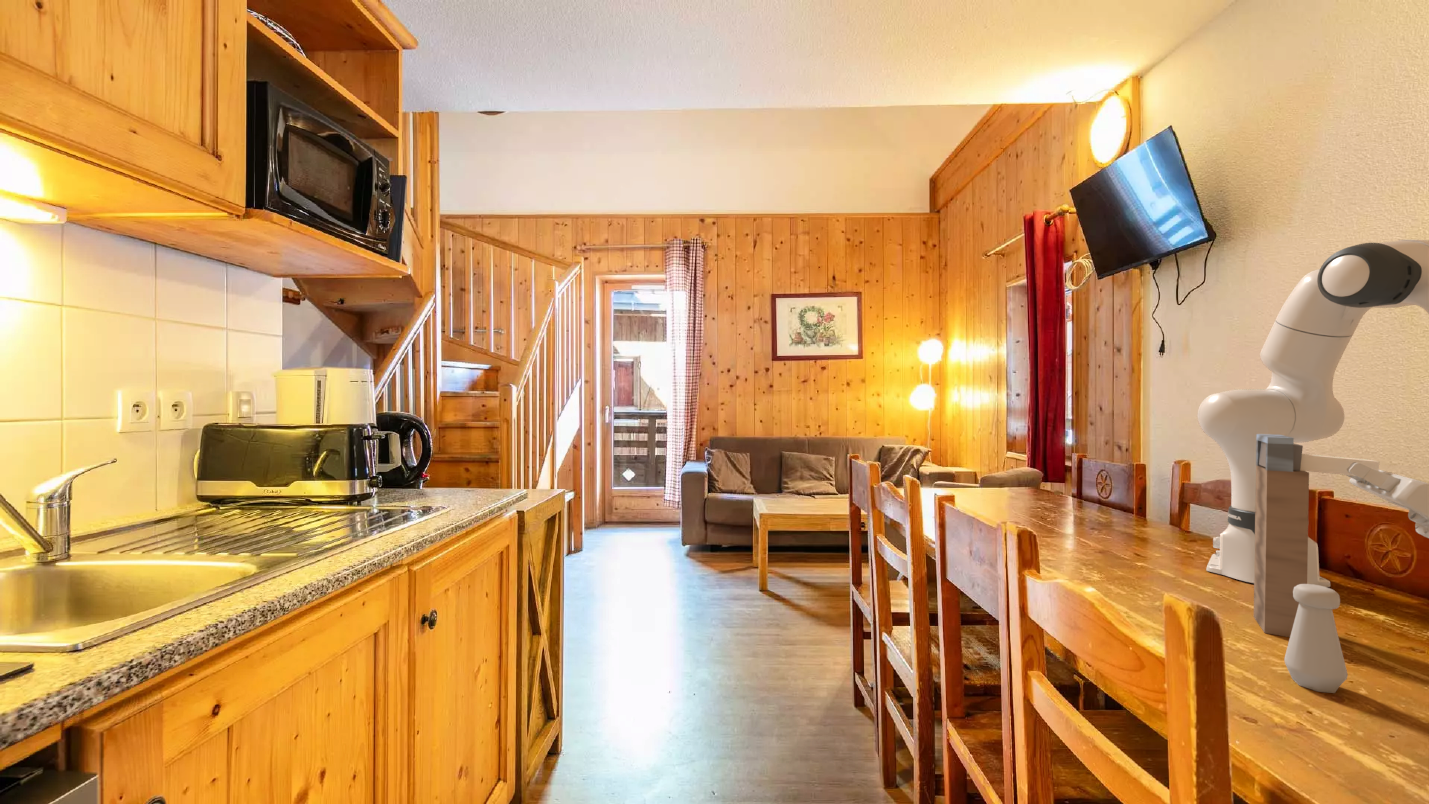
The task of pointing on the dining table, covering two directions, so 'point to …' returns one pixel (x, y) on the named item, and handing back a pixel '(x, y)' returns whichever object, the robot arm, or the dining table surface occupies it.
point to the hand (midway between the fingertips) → (1340, 463)
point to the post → (1279, 535)
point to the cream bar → (1320, 462)
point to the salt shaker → (1315, 640)
